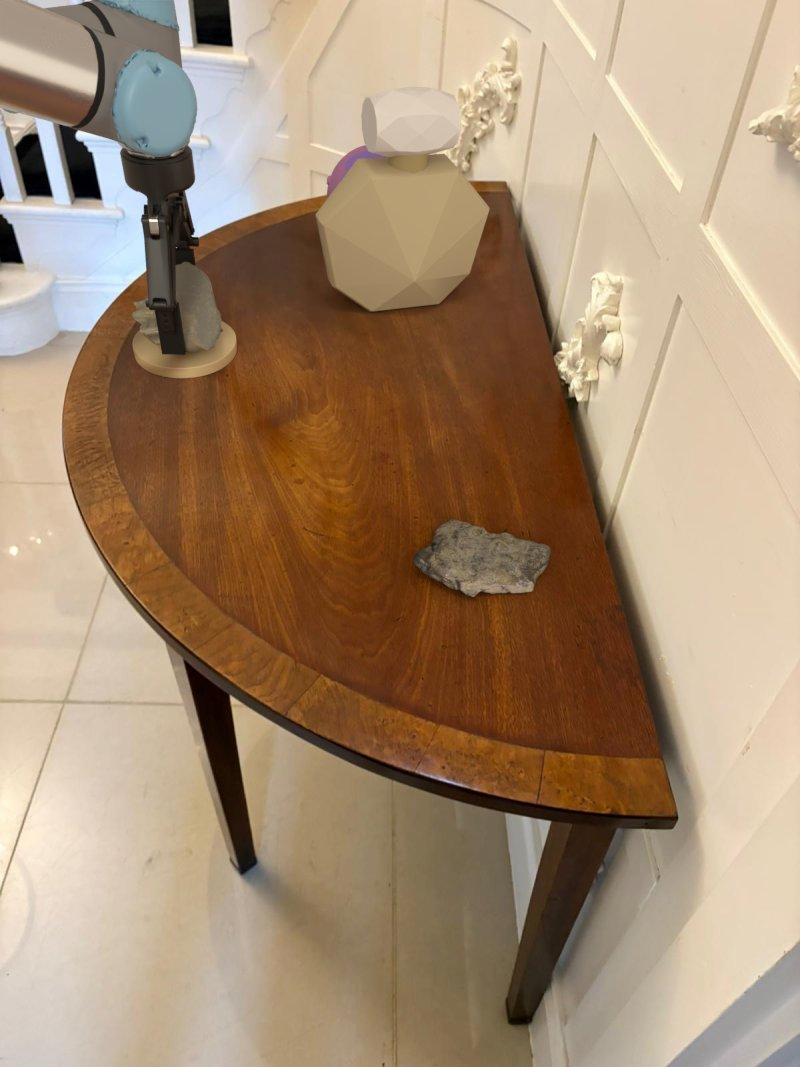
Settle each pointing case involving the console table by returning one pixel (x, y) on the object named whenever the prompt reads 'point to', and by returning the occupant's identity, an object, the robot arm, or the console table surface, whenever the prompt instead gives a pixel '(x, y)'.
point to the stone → (482, 560)
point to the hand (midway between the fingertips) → (181, 323)
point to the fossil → (187, 310)
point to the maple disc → (186, 356)
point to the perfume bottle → (403, 206)
